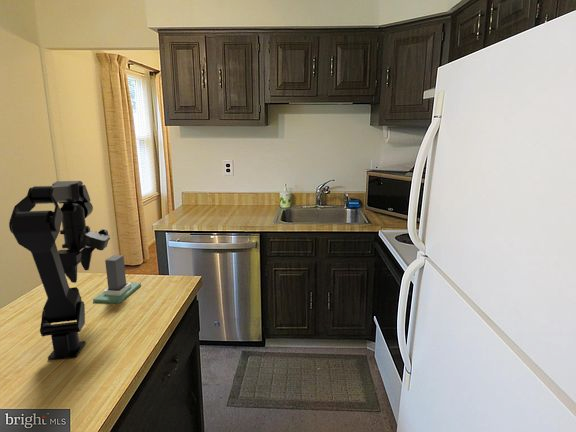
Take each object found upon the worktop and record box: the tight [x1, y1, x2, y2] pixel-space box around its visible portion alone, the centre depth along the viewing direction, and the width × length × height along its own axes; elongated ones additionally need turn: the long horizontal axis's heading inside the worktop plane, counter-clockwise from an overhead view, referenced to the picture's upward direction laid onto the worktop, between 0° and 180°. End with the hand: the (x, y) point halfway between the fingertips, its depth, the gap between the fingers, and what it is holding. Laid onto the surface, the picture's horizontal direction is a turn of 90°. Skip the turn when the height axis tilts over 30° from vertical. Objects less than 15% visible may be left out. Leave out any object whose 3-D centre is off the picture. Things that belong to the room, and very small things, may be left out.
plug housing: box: [104, 254, 127, 291], centre depth 121 cm, size 5×4×12 cm
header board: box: [92, 281, 142, 304], centre depth 122 cm, size 14×9×2 cm, turn 174°
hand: (80, 276), depth 105 cm, fingers open, 9 cm apart
